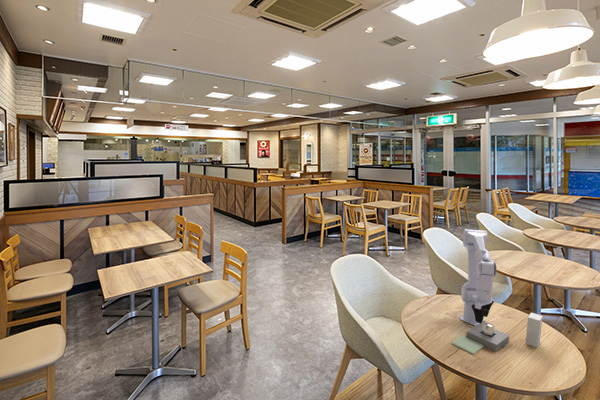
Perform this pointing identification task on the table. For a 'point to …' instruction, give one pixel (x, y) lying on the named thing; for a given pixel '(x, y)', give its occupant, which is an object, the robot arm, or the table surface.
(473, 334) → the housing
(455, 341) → the mat
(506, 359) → the table surface
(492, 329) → the plug
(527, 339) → the skincare box
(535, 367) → the table surface
